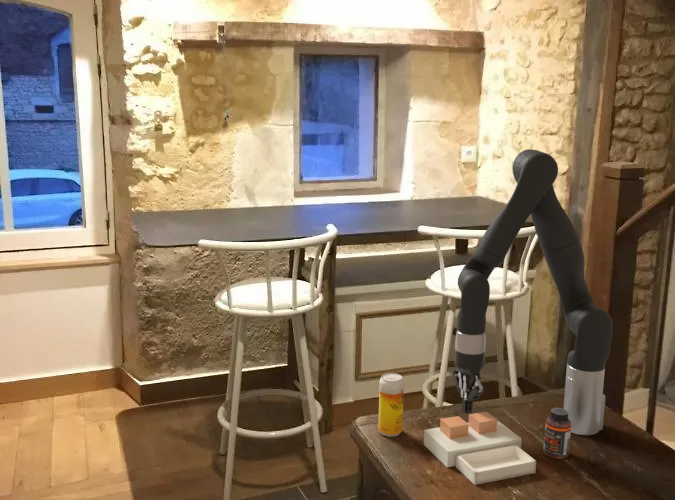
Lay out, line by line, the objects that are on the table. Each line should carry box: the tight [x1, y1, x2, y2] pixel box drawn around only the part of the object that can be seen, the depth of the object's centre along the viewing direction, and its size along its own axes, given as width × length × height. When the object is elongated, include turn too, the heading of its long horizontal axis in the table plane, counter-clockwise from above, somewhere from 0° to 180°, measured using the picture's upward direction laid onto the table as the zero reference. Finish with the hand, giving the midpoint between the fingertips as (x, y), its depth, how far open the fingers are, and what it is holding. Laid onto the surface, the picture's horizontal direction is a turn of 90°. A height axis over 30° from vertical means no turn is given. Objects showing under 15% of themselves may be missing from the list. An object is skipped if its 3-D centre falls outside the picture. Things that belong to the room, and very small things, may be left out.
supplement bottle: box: [543, 407, 572, 460], centre depth 180 cm, size 6×6×11 cm
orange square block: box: [439, 415, 469, 439], centre depth 183 cm, size 5×5×3 cm
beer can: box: [377, 372, 405, 438], centre depth 190 cm, size 6×6×15 cm
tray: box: [455, 445, 537, 486], centre depth 173 cm, size 16×8×3 cm, turn 110°
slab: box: [423, 419, 522, 468], centre depth 183 cm, size 20×12×4 cm, turn 110°
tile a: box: [468, 411, 498, 434], centre depth 185 cm, size 5×5×3 cm
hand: (466, 411), depth 193 cm, fingers closed
